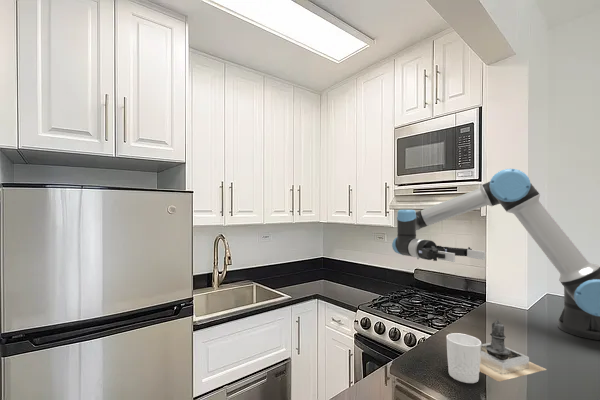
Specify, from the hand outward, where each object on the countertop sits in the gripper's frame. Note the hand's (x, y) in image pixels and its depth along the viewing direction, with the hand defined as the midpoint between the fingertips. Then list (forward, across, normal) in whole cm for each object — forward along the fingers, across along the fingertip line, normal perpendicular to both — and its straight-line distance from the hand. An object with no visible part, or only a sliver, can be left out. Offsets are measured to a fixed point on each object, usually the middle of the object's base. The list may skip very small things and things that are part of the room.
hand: (469, 256), depth 104 cm
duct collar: (+15, +7, -27) cm, 31 cm away
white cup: (+17, +22, -28) cm, 39 cm away
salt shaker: (+15, +7, -27) cm, 32 cm away
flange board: (+15, +7, -28) cm, 32 cm away
